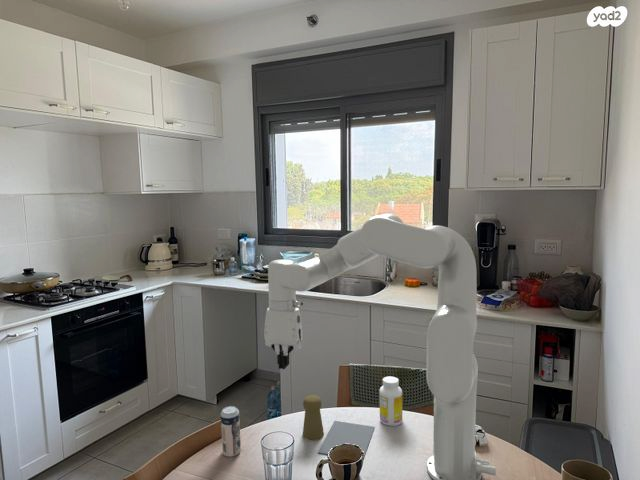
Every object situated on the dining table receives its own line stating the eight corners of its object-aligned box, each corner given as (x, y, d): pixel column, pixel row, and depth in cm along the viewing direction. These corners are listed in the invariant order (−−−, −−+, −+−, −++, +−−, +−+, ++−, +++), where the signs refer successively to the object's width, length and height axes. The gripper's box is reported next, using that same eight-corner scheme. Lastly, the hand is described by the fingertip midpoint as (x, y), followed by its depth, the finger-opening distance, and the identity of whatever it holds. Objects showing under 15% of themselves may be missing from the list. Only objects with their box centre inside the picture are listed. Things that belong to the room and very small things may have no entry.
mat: (374, 427, 124) (374, 426, 124) (362, 461, 109) (362, 460, 109) (334, 421, 128) (334, 420, 127) (317, 453, 112) (317, 452, 112)
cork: (321, 441, 118) (320, 403, 116) (300, 439, 119) (299, 401, 118) (325, 429, 124) (324, 393, 122) (305, 427, 125) (304, 391, 123)
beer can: (239, 457, 111) (237, 413, 110) (221, 458, 111) (219, 415, 110) (242, 446, 116) (240, 404, 115) (224, 447, 116) (222, 405, 114)
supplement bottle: (402, 416, 130) (402, 375, 128) (402, 428, 123) (401, 385, 122) (380, 414, 131) (380, 373, 130) (378, 425, 125) (378, 383, 123)
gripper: (312, 302, 121) (312, 365, 123) (263, 298, 125) (265, 359, 128) (302, 310, 114) (303, 376, 116) (252, 305, 118) (253, 369, 120)
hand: (283, 367), depth 122 cm, fingers closed
